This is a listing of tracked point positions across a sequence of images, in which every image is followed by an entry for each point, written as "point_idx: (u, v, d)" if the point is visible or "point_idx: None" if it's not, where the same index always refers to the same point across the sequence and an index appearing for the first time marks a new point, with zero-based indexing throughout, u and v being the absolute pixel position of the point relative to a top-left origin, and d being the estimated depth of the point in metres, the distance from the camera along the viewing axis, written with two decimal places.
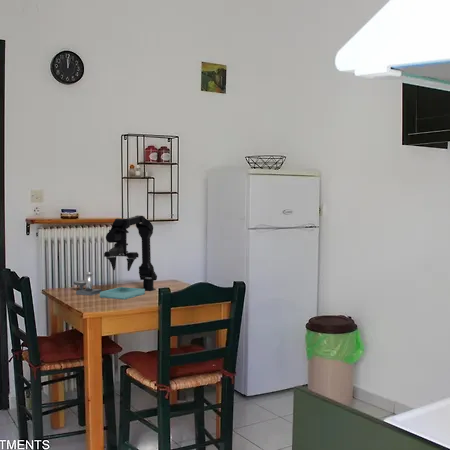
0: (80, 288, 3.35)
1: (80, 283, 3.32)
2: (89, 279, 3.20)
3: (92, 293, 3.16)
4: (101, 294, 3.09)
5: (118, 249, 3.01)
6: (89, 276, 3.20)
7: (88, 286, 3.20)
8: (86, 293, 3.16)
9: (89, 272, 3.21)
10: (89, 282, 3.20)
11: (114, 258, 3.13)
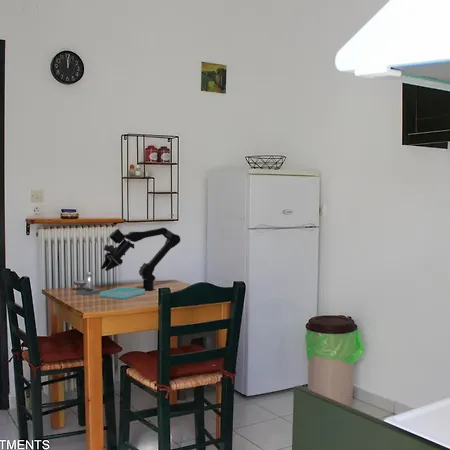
0: (80, 288, 3.35)
1: (80, 283, 3.32)
2: (89, 279, 3.20)
3: (92, 293, 3.16)
4: (101, 294, 3.09)
5: (110, 245, 3.22)
6: (89, 276, 3.20)
7: (88, 286, 3.20)
8: (86, 293, 3.16)
9: (89, 272, 3.21)
10: (89, 282, 3.20)
11: (109, 261, 3.31)
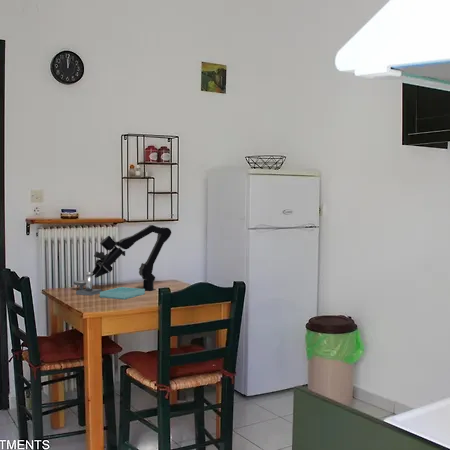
0: (80, 288, 3.35)
1: (80, 283, 3.32)
2: (89, 279, 3.20)
3: (92, 293, 3.16)
4: (101, 294, 3.09)
5: (100, 252, 3.20)
6: (89, 276, 3.20)
7: (88, 286, 3.20)
8: (86, 293, 3.16)
9: (89, 272, 3.21)
10: (89, 282, 3.20)
11: (100, 268, 3.29)
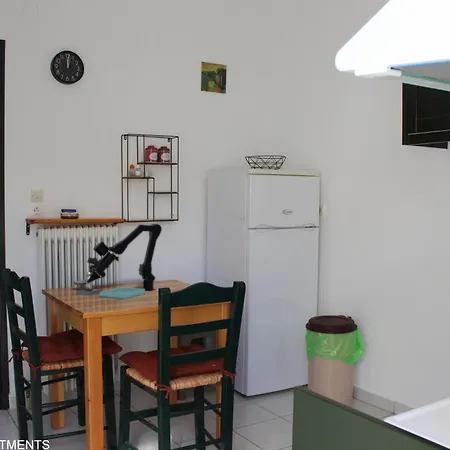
0: (80, 288, 3.35)
1: (80, 283, 3.32)
2: None
3: (92, 293, 3.16)
4: (101, 294, 3.09)
5: (93, 258, 3.19)
6: (89, 276, 3.20)
7: (88, 286, 3.20)
8: (86, 293, 3.16)
9: (89, 272, 3.21)
10: None
11: None
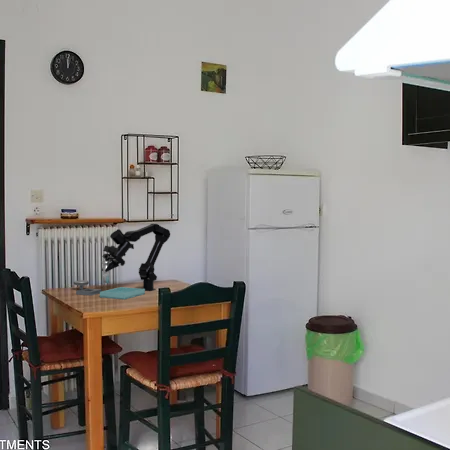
0: (80, 288, 3.35)
1: (80, 283, 3.32)
2: None
3: (92, 293, 3.16)
4: (101, 294, 3.09)
5: (111, 246, 3.13)
6: (107, 265, 3.14)
7: (106, 275, 3.14)
8: (86, 293, 3.16)
9: (106, 261, 3.15)
10: None
11: None
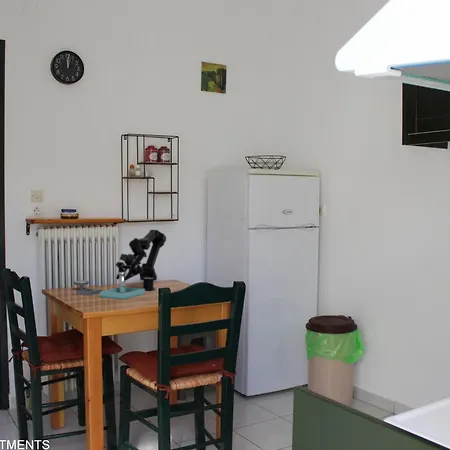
0: (80, 288, 3.35)
1: (80, 283, 3.32)
2: None
3: (92, 293, 3.16)
4: (101, 294, 3.09)
5: (129, 254, 3.13)
6: (123, 276, 3.14)
7: (123, 286, 3.13)
8: (86, 293, 3.16)
9: (123, 272, 3.14)
10: (124, 282, 3.14)
11: (123, 271, 3.20)
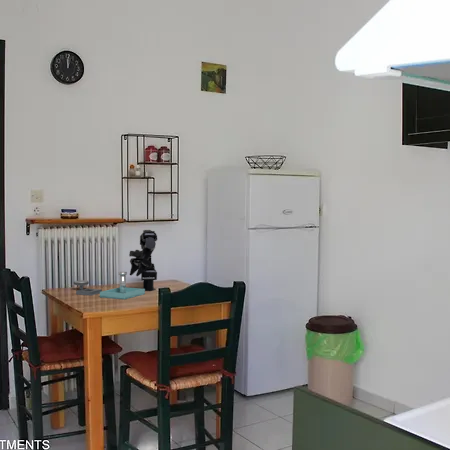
0: (80, 288, 3.35)
1: (80, 283, 3.32)
2: (124, 279, 3.14)
3: (92, 293, 3.16)
4: (101, 294, 3.09)
5: (135, 250, 3.20)
6: (124, 276, 3.14)
7: (123, 286, 3.13)
8: (86, 293, 3.16)
9: (123, 272, 3.14)
10: (124, 282, 3.14)
11: (136, 266, 3.28)
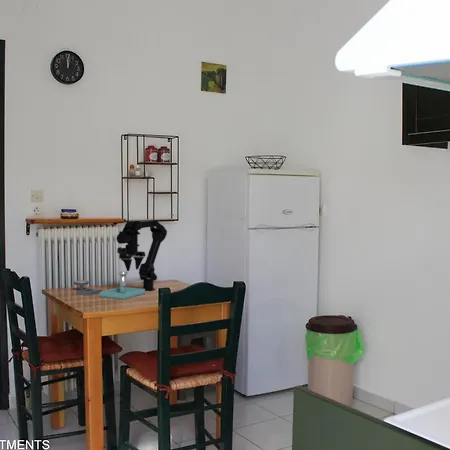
0: (80, 288, 3.35)
1: (80, 283, 3.32)
2: (124, 279, 3.14)
3: (92, 293, 3.16)
4: (101, 294, 3.09)
5: None
6: (124, 276, 3.14)
7: (123, 286, 3.13)
8: (86, 293, 3.16)
9: (123, 272, 3.14)
10: (124, 282, 3.14)
11: (138, 258, 3.28)
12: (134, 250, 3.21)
